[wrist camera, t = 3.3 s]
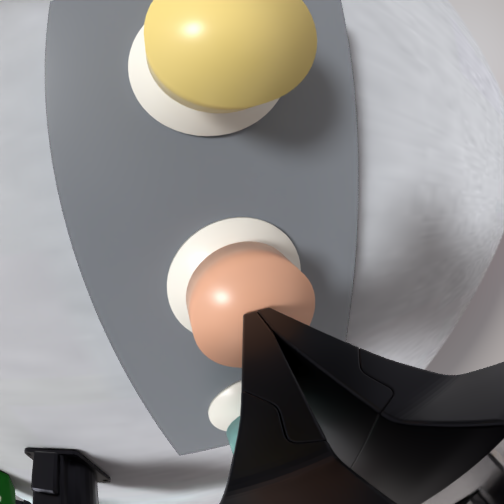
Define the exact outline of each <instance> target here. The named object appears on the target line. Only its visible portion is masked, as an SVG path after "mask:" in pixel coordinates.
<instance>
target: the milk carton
mask: <svg viewBox="0 0 504 504" xmlns="http://www.w3.org/2000/svg"><path fill="white" fill-rule="evenodd" d="M15 500H16V499H15V488H14V486H13V484H12V482H11V479H10V477H9V475H8V474H5V473H3V472H1V471H0V504H15Z"/></svg>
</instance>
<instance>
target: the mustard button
mask: <svg viewBox="0 0 504 504" xmlns="http://www.w3.org/2000/svg"><path fill="white" fill-rule="evenodd" d="M144 42H145V51H146V59H147V65H148V68H149V71H150V73H151V75H152V77H153V79H154V81H155V82H156V84H157V85H158V86H159V87H160V88H161V90H162V91H163V92H164V93H165V94H167V95H168V96H169V97H170V98H171V99H173V100H175V101H176V102H178V103H179V104H181V105H184V106H186V107H188V108H191V109H194V110H197V111H202V112H207V113H231V112H237V111H241V110H245V109H248V108H251V107H254V106H257V105H261V104H264V103H267V102H270V101H273V100H275V99H278V98H280V97H281V96H283V95H285V94H287V93H288V92H290V91H291V90H293V89H294V88H295V87H296V86H297V85H298V84H299V83H300V82H302V80H303V79H304V78H305V76H306V75H307V74H308V72H309V70H310V68H311V67H312V64H313V62H314V59H315V55H316V50H317V32H316V28H315V24H314V21H313V18H312V15H311V14H310V12H309V10H308V8H307V6H306V5H305V3H304V2H303V1H302V0H153V2H152V3H151V5H150V7H149V9H148V12H147V14H146V18H145V22H144Z"/></svg>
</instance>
